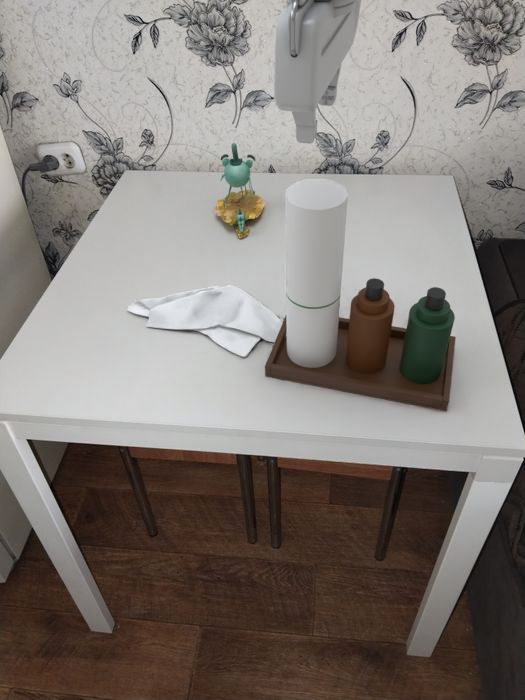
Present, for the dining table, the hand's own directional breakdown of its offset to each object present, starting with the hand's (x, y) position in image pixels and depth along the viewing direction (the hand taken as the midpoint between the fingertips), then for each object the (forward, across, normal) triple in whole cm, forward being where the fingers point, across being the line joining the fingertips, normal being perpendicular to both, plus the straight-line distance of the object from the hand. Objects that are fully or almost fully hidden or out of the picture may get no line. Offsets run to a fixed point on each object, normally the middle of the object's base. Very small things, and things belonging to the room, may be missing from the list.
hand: (317, 120), depth 62 cm
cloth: (+34, +4, +16) cm, 38 cm away
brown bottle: (+33, 0, -8) cm, 34 cm away
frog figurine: (+34, +34, +22) cm, 53 cm away
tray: (+34, 0, -7) cm, 35 cm away
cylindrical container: (+34, 0, 0) cm, 34 cm away
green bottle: (+33, 0, -16) cm, 37 cm away
